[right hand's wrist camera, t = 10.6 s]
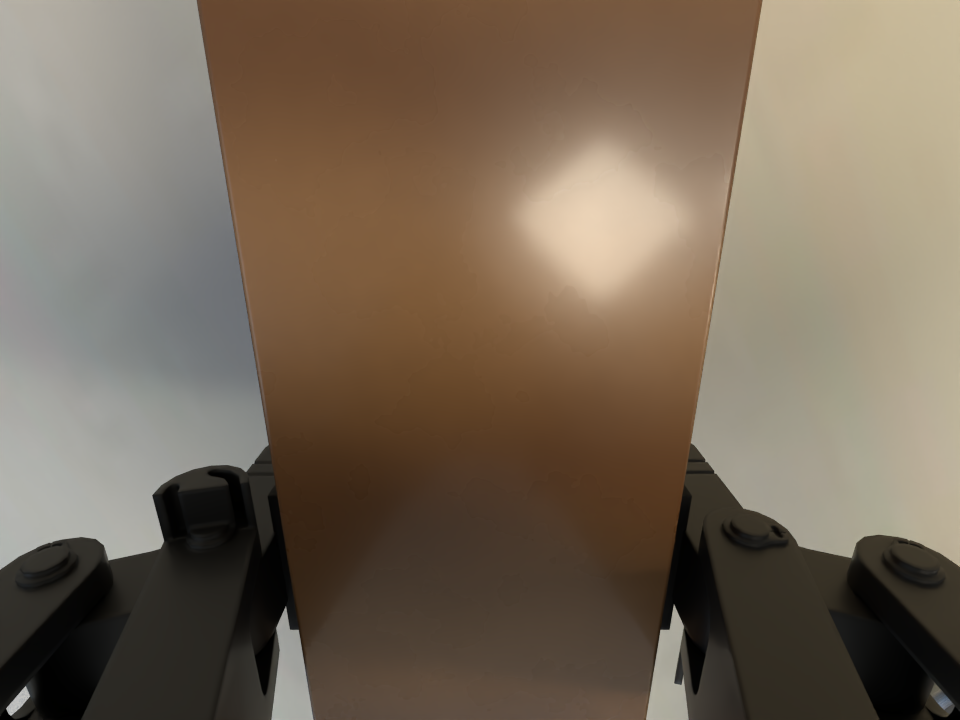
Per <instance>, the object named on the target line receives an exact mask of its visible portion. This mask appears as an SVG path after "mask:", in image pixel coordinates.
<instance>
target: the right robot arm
mask: <svg viewBox="0 0 960 720" xmlns="http://www.w3.org/2000/svg"><path fill="white" fill-rule="evenodd" d="M152 496H153V500H154V503H155V507H156V511H157V515H158V519H159V523H160V526H161V530H162V534H163V538H164V543H163V545H162V547H161V549H159V550H155V551H151V552H147V553H142V554H138V555H133V556H128V557H123V558H118V559H114V560H109V561H108V558H107V554H106V551H105V548H104V545H102V544H101V543H100V542H99V541H97V540H96V539H91V538H83V537H79V538H72V539H64V540H59V541H55V542H53V543H48V544H45V545H42V546H39V547H37V548H36V549H34V550H32V551H30V552H28V553H26V554H24V555H22V556H20V557H18V558H17V559H15V560H14V561H12V562H11V563H9V564H8V565H7V566H5V567H4V568H2V569H1V570H0V720H271V718H272V709H273V701H274V693H275V684H276V676H277V668H278V659H279V651H280V650H279V642H278V636H277V630H276V627H277V625H278V622H279V620H280V618H281V616H282V613H283V611H284V609H285V607H286V608H287V614H288V620H289V626H290V630H299V627H298V621H297V614H296V608H295V602H294V596H293V590H292V584H291V577H290V571H289V565H288V559H287V553H286V547H285V541H284V534H283V528H282V522H281V516H280V510H279V504H278V497H277V491H276V485H275V479H274V473H273V467H272V461H271V454H270V448H269V446H267V447H265V449H264V450H263V451H262V453H261V454H260V455H259V456H258V458H257V459H256V460H255V464H252V466H251V467H250V468H249V469H248V471H247V472H245V471H244V470H242V469H241V468H238V467H233V466H229V465H220V466H208V467H203V468H198V469H194V470H191V471H188V472H186V473H183V474H181V475H178V476H176V477H174V478H173V479H171V480H169V481H168V482H166V483H164V484H163V485H161V486H160V488H159V489H158V490H157V491H156V492H155V493H154V494H153V495H152ZM674 605H675V607H676V609H677V611H678V614H679V616H680V618H681V620H682V623H683V625H684V630H683V636H682V641H681V647H680V652H679V658H678V663H677V669H676V675H675V682H674V683H675V684H680V685H681V684H682V679H683V675H684V683H685V691H686V700H687V708H688V716H689V720H960V567H959V566H958V565H956V564H955V563H953V562H952V561H950V560H949V559H947V558H946V557H944V556H943V555H942V554H940V553H938V552H936V551H934V550H931V549H929V548H927V547H925V546H924V545H922V544H920V543H917V542H914V541H911V540H910V541H909V540H908V539H903V538H899V537H892V536H884V535H874V536H867V537H864V538H862V539H861V540H860V541H859V542H857V543H856V547H855V550H854V553H853V556H852V558H848V557H843V556H838V555H833V554H829V553H824V552H819V551H814V550H810V549H806V548H802V547H799V546H798V544H797V542H796V540H795V539H794V538H793V536H792V535H791V534H790V532H789V531H788V530H787V529H786V528H785V527H783V526H782V525H780V524H779V523H778V522H776V521H775V520H773V519H771V518H769V517H767V516H765V515H762V514H760V513H758V512H754V511H750V510H746V509H743V508H742V506H741V505H740V504H739V502H738V501H737V500H736V499H735V497H734V496H733V495H732V493H731V492H730V491H729V490H728V488H727V487H726V486H725V484H724V483H723V482H722V481H721V479H720V478H719V477H718V475H717V474H714V470H713V469H712V468H711V466H710V465H709V464H708V463H707V462H705V459H704V457H703V456H702V455H701V454H700V452H699V451H698V450H697V448H696V447H695V446H694V445H692V444H690V450H689V456H688V463H687V469H686V475H685V481H684V487H683V493H682V500H681V506H680V512H679V518H678V524H677V530H676V537H675V543H674V549H673V555H672V561H671V567H670V574H669V580H668V586H667V592H666V598H665V604H664V611H663V617H662V623H661V629H660V630H669V629H670V623H671V618H672V612H673V606H674ZM25 686H26V687H27V690H28V692H29V694H30V697H29V699H28V700H27V701H26V702H25V703H24V704H23V706H22V707H21V708H20V709H19V710H17V711H16V712H15V713H14V714H13V715H12V716H10V715H9V714H8V712H7V710H6V708H7V707H8V705H9V704H10V703H11V702H12V701H13V700H14V699H15V697H16V696H17V695H18V694H19V693H20V692H21V690H22V689H23V688H24V687H25Z"/></svg>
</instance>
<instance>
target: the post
mask: <svg viewBox="0 0 960 720" xmlns="http://www.w3.org/2000/svg"><path fill="white" fill-rule="evenodd" d="M197 5H198V11H199V17H200V23H201V30H202V36H203V42H204V48H205V54H206V60H207V66H208V73H209V79H210V85H211V91H212V97H213V103H214V110H215V116H216V122H217V128H218V134H219V140H220V147H221V153H222V159H223V165H224V171H225V177H226V183H227V190H228V196H229V202H230V208H231V214H232V220H233V227H234V233H235V239H236V245H237V251H238V257H239V264H240V270H241V276H242V282H243V288H244V294H245V300H246V307H247V313H248V319H249V325H250V331H251V337H252V344H253V350H254V356H255V362H256V368H257V374H258V380H259V387H260V393H261V399H262V405H263V411H264V417H265V424H266V430H267V436H268V442H269V448H270V454H271V461H272V467H273V473H274V479H275V485H276V491H277V497H278V504H279V510H280V516H281V522H282V528H283V534H284V541H285V547H286V553H287V559H288V565H289V571H290V577H291V584H292V590H293V596H294V602H295V608H296V614H297V621H298V627H299V633H300V639H301V645H302V651H303V658H304V664H305V670H306V676H307V682H308V688H309V694H310V701H311V707H312V713H313V719H314V720H646V715H647V709H648V703H649V697H650V691H651V685H652V678H653V672H654V666H655V660H656V654H657V648H658V641H659V635H660V629H661V623H662V617H663V611H664V604H665V598H666V592H667V586H668V580H669V574H670V567H671V561H672V555H673V549H674V543H675V537H676V530H677V524H678V518H679V512H680V506H681V500H682V493H683V487H684V481H685V475H686V469H687V463H688V456H689V450H690V444H691V438H692V432H693V425H694V419H695V413H696V407H697V401H698V395H699V388H700V382H701V376H702V370H703V364H704V358H705V351H706V345H707V339H708V333H709V327H710V321H711V314H712V308H713V302H714V296H715V290H716V284H717V277H718V271H719V265H720V259H721V253H722V247H723V240H724V234H725V228H726V222H727V216H728V210H729V203H730V197H731V191H732V185H733V179H734V173H735V166H736V160H737V154H738V148H739V142H740V136H741V129H742V123H743V117H744V111H745V105H746V99H747V92H748V86H749V80H750V74H751V68H752V62H753V55H754V49H755V43H756V37H757V31H758V25H759V18H760V12H761V6H762V0H197Z"/></svg>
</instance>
